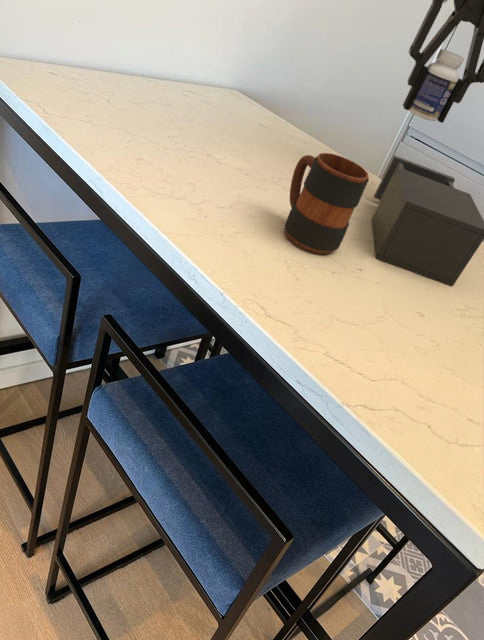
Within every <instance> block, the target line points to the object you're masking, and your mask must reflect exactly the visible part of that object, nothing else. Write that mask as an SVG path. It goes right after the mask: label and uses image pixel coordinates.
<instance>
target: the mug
mask: <svg viewBox="0 0 484 640" xmlns="http://www.w3.org/2000/svg"><path fill="white" fill-rule="evenodd" d="M307 167H309V168H310V169H309V171H308V173H307V175H306V177H305V179H304V175H305V172H306V169H307ZM303 180H304V181H303ZM369 180H370V178H369V173H368V171H367V170H366V169H365V168H363V167H362V166H361V165H360V164H358V163H356V162H354V161H353V160H350V159H348V158H346V157H343V156H341V155H339V154H334V153H330V152H329V153H328V152H322V153H318V155H317V156H313V155H311V154H306V155H303V156H302V157H301V158H299V160H298V161H297V163H296V165H295V168H294V170H293V174H292V177H291V182H290V188H289V204H290V211H289V213H288V215H287V217H286V220H285V223H284V230H285V235H286V237H287V238H288V240H289V241H290V242H291V243H293V244H294V245H295V246H298V248H299V249H300V248H301V249H302V250H305V251H306V252H310V253H313V254H316V255H330V254H332V253H333V252H335V251H337V250H338V249H339V248H340V246H341V244H342V243H343V240H344V238H345V236H346V233H347V231H348V228H349V226H350V219H351V217H352V215H353V213H354V211H355V209H356V208H357V207H358V206H359V203H360V201H361V199H362V196H363V194H364V191H365V189H366V187H367V185H368V183H369ZM302 183H303V187H302Z"/></svg>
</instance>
